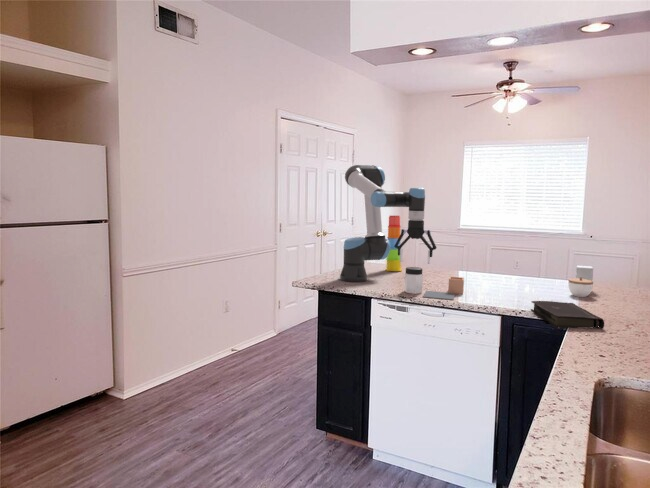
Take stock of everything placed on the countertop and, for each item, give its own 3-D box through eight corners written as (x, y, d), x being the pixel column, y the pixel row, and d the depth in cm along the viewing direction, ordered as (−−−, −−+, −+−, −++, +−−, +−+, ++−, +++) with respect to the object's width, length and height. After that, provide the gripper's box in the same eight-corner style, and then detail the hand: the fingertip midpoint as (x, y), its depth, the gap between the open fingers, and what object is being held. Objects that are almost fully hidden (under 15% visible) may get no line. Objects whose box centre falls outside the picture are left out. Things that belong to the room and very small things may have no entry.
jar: (412, 294, 227) (413, 270, 226) (400, 291, 234) (401, 267, 233) (425, 292, 232) (426, 268, 231) (413, 289, 239) (414, 266, 237)
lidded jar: (589, 294, 236) (591, 276, 234) (594, 299, 225) (595, 279, 224) (565, 292, 239) (567, 274, 238) (569, 296, 229) (570, 278, 228)
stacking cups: (383, 271, 292) (385, 215, 288) (387, 268, 302) (389, 214, 298) (399, 272, 289) (402, 216, 285) (403, 269, 298) (405, 215, 294)
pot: (448, 292, 233) (448, 278, 232) (449, 290, 239) (449, 276, 239) (462, 294, 231) (463, 280, 230) (463, 291, 237) (464, 277, 236)
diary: (573, 313, 200) (574, 302, 199) (603, 331, 175) (605, 318, 174) (528, 311, 201) (529, 299, 200) (552, 328, 176) (553, 315, 176)
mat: (422, 297, 222) (422, 296, 222) (426, 291, 235) (426, 290, 235) (453, 300, 217) (453, 299, 217) (455, 294, 230) (455, 293, 230)
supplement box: (590, 289, 247) (592, 266, 245) (591, 292, 240) (593, 268, 239) (574, 288, 250) (576, 265, 248) (575, 291, 243) (577, 267, 242)
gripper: (389, 219, 229) (388, 262, 232) (441, 220, 221) (439, 265, 223) (392, 218, 236) (391, 260, 239) (443, 220, 228) (441, 263, 231)
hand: (414, 262), depth 231 cm, fingers open, 13 cm apart
